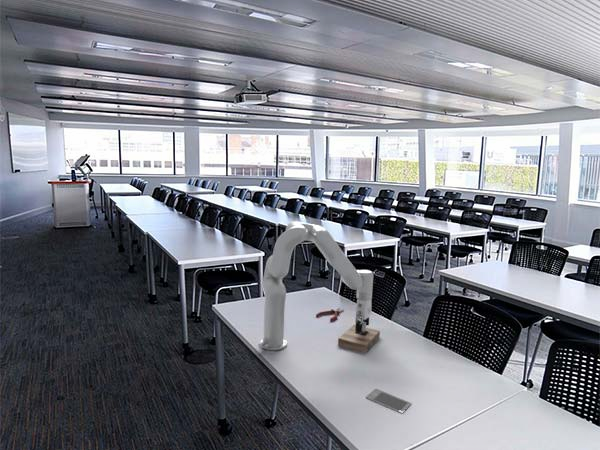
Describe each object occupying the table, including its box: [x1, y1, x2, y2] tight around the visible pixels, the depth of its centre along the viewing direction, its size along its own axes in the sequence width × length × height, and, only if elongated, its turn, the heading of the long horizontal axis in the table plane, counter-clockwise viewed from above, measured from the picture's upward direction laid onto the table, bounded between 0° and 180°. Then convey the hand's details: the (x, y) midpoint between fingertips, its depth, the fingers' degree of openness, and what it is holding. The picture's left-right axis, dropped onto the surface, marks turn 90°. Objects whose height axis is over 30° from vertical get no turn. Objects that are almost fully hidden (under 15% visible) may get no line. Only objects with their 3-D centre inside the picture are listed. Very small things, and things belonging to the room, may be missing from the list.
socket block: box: [337, 324, 381, 354], centre depth 201 cm, size 20×14×4 cm
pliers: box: [315, 307, 345, 323], centre depth 235 cm, size 12×20×3 cm, turn 143°
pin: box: [358, 321, 367, 336], centre depth 203 cm, size 4×4×9 cm
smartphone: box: [365, 388, 412, 412], centre depth 151 cm, size 15×8×1 cm, turn 51°
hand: (362, 328), depth 203 cm, fingers open, 9 cm apart
